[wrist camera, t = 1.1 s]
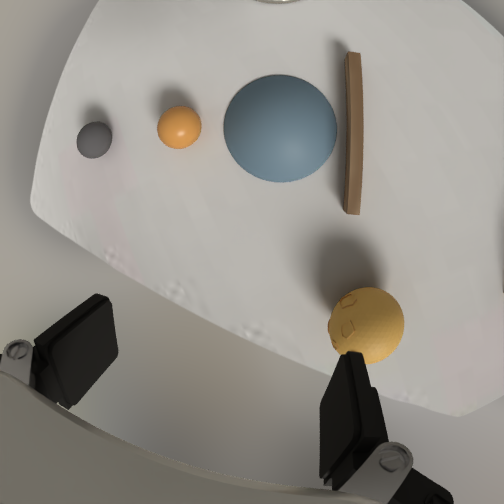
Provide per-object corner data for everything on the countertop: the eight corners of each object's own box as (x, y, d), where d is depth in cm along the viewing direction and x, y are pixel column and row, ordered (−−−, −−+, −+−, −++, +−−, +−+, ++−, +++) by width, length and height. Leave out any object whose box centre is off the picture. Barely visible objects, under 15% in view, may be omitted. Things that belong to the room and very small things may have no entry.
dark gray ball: (89, 133, 36) (66, 132, 31) (114, 116, 34) (91, 113, 29) (97, 163, 37) (74, 165, 32) (123, 148, 36) (100, 147, 30)
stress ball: (390, 277, 36) (360, 264, 30) (425, 335, 30) (404, 338, 24) (340, 317, 41) (301, 313, 35) (367, 373, 35) (331, 383, 28)
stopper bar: (343, 210, 34) (347, 214, 31) (344, 59, 28) (348, 51, 25) (354, 210, 33) (359, 215, 31) (355, 61, 27) (360, 53, 25)
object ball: (164, 120, 34) (144, 115, 28) (200, 103, 32) (183, 94, 27) (176, 156, 35) (156, 155, 30) (212, 140, 34) (198, 136, 28)
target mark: (210, 98, 32) (209, 97, 32) (313, 63, 29) (313, 63, 28) (245, 196, 35) (244, 196, 35) (351, 164, 32) (351, 164, 32)
